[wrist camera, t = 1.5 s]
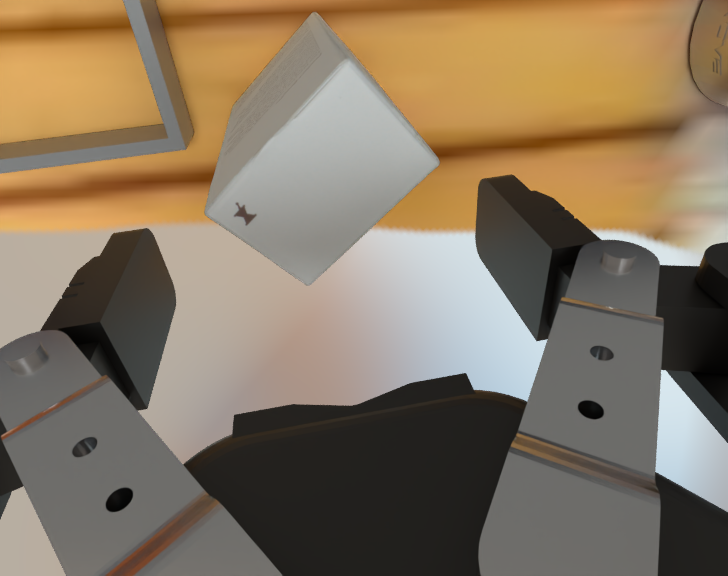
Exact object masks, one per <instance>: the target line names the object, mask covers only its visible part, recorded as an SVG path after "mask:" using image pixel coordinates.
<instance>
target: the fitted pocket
mask: <svg viewBox="0 0 728 576" xmlns="http://www.w3.org/2000/svg"><path fill="white" fill-rule="evenodd" d="M123 2H124V5H125V8H126V11H127V14H128V17H129V20H130V23H131V26H132V29H133V32H134V35H135V38H136V41H137V44H138V47H139V50H140V53H141V56H142V59H143V62H144V65H145V68H146V71H147V74H148V78H149V81H150V84H151V87H152V90H153V93H154V96H155V99H156V102H157V105H158V108H159V111H160V114H161V117H162V120H163V123H164V124H159V125H151V126H143V127H135V128H127V129H119V130H111V131H103V132H95V133H87V134H79V135H71V136H63V137H55V138H47V139H39V140H31V141H23V142H15V143H7V144H0V173H8V172H16V171H23V170H31V169H39V168H47V167H55V166H62V165H70V164H78V163H86V162H93V161H101V160H109V159H117V158H124V157H132V156H140V155H148V154H156V153H163V152H171V151H179V150H186V149H187V147H188V145H189V142H190V140H191V138H192V136H193V134H194V130H193V127H192V123H191V120H190V117H189V113H188V110H187V107H186V103H185V100H184V96H183V93H182V90H181V86H180V83H179V79H178V76H177V73H176V69H175V66H174V62H173V59H172V56H171V52H170V49H169V46H168V42H167V39H166V35H165V32H164V29H163V25H162V22H161V18H160V15H159V12H158V8H157V5H156V1H155V0H123Z"/></svg>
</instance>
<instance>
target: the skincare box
mask: <svg viewBox="0 0 728 576" xmlns="http://www.w3.org/2000/svg"><path fill="white" fill-rule="evenodd" d="M439 164H440V161H439V159H438V157H437V156H436V155H435V153H434V152H433V151H432V150H431V148H430V147H429V146H428V145H427V143H426V142H425V141H424V140H423V138H422V137H421V136H420V135H419V134H418V132H417V131H416V130H415V129H414V127H413V126H412V125H411V124H410V122H409V121H408V120H407V119H406V118H405V116H404V115H403V114H402V113H401V111H400V110H399V109H398V108H397V107H396V105H395V104H394V103H393V102H392V100H391V99H390V98H389V97H388V95H387V94H386V93H385V92H384V90H383V89H382V88H381V87H380V85H379V84H378V83H377V81H376V80H375V79H374V78H373V76H372V75H371V74H370V73H369V72H368V71H367V69H366V68H365V67H364V66H363V65H362V63H361V62H360V61H359V60H358V59H357V58H356V56H355V55H354V54H353V53H352V52H351V51H350V49H349V48H348V47H347V46H346V45H345V44H344V43H343V41H342V40H341V39H340V38H339V37H338V36H337V35H336V33H335V32H334V31H333V30H332V29H331V28H330V27H329V25H328V24H327V23H326V22H325V21H324V20H323V19H322V18H321V16H320V15H319V14H318V13H316V12H313V13H311V15H310V16H309V17H308V18H307V19H306V20H305V22H304V23H303V24H302V25H301V26H300V27H299V29H298V30H297V31H296V32H295V33H294V34H293V36H292V37H291V38H290V39H289V40H288V41H287V43H286V44H285V45H284V46H283V47H282V49H281V50H280V51H279V52H278V53H277V54H276V56H275V57H274V58H273V59H272V60H271V61H270V63H269V64H268V65H267V66H266V67H265V68H264V70H263V71H262V72H261V73H260V74H259V75H258V77H257V78H256V79H255V80H254V81H253V83H252V84H251V85H250V86H249V87H248V89H247V90H246V91H245V92H244V93H243V94H242V96H241V97H240V98H239V99H238V100H237V101H236V103H235V104H234V105H233V107H232V111H231V114H230V118H229V121H228V125H227V129H226V133H225V137H224V141H223V144H222V148H221V151H220V155H219V158H218V162H217V166H216V170H215V173H214V177H213V180H212V183H211V186H210V190H209V194H208V198H207V203H206V206H205V215H206V216H207V217H208V218H210V219H211V220H213V221H214V222H216V223H217V224H219V225H220V226H222V227H223V228H225V229H226V230H228V231H229V232H231V233H232V234H234V235H235V236H236V237H238V238H239V239H241V240H243V241H244V242H245V243H247V244H248V245H250V246H251V247H253V248H254V249H255V250H257V251H258V252H260V253H261V254H263V255H264V256H265V257H267V258H268V259H270V260H271V261H273V262H274V263H275V264H277V265H278V266H279V267H281V268H282V269H284V270H285V271H286V272H288V273H289V274H291V275H292V276H294V277H295V278H297V279H298V280H300V281H301V282H303V283H304V284H305V285H311V284H312V283H313V282H314V281H315V280H316V279H317V278H318V277H319V276H320V275H321V274H323V273H324V272H325V271H326V270H327V269H328V268H329V267H330V266H331V265H332V264H333V263H335V262H336V261H337V260H338V259H339V258H340V257H341V256H342V255H343V254H344V253H345V252H346V251H347V250H349V248H351V247H352V246H353V245H354V244H355V243H356V242H357V241H358V240H359V239H360V238H361V237H362V236H363V235H365V233H367V232H368V231H369V230H370V229H371V228H372V227H373V226H374V225H375V224H376V223H377V222H378V221H379V220H380V219H381V218H382V217H383V216H384V215H386V214H387V213H388V212H389V211H390V210H391V209H392V208H393V207H394V206H395V205H396V204H397V203H398V202H399V201H400V200H402V199H403V198H404V197H405V196H406V195H407V194H408V193H409V192H410V191H411V190H412V189H413V188H414V187H415V186H417V185H418V184H419V183H420V182H421V181H422V180H423V179H424V178H425V177H426V176H427V175H428V174H429V173H431V172H432V171H433V170H434V169H435V168H437V167H438V166H439Z"/></svg>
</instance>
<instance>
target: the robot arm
mask: <svg viewBox="0 0 728 576" xmlns="http://www.w3.org/2000/svg"><path fill="white" fill-rule="evenodd" d="M690 65H691V70H692V74H693V79H694V81H695V82H696V84H697V86H698V88H699V90H700V91H701V92H702V93H703V94H704V95H705V96H706V97H707V98H709V99H710V100H711V101H714V102H716V103H719V104H721V105H724V106H726V107H728V0H703V2H702V5H701V7H700V10H699V13H698V15H697V18H696V21H695V24H694V28H693V33H692V38H691V43H690ZM475 238H476V247H477V251H478V254H479V257H480V259H481V260H482V262H483V263H484V265H485V266H486V268H487V269H488V271H489V272H490V273H491V275H492V276H493V278H494V279H495V281H496V282H497V283H498V285H499V287H500V288H501V289H502V291H503V292H504V294H505V295H506V297H507V298H508V300H509V301H510V302H511V304H512V306H513V307H514V309H515V310H516V312H517V313H518V314H519V316H520V317H521V319H522V320H523V322H524V323H525V325H526V326H527V328H528V329H529V330H530V332H531V333H532V335H533V336H534V338H535V339H536V341H540V340H545V339H548V340H547V343H546V346H545V350H544V353H543V356H542V359H541V362H540V365H539V368H538V371H537V374H536V377H535V380H534V383H533V386H532V389H531V393H530V396H529V399H528V402H526V401H524V400H522V399H519V398H516V397H513V396H510V395H506V394H502V393H497V392H491V391H483V390H473V387H472V385H471V383H470V381H469V379H468V377H467V374H466V373H464V374H458V375H452V376H447V377H442V378H436V379H431V380H425V381H419V382H414V383H410V384H407V385H405V386H402V387H400V388H397V389H395V390H392V391H390V392H388V393H385V394H383V395H380V396H378V397H375V398H373V399H370V400H368V401H365V402H363V403H361V404H358V405H353V406H336V405H335V406H334V405H296V404H292V405H286V406H282V407H275V408H270V409H264V410H259V411H253V412H248V413H242V414H237V415H234V422H233V434H232V435H229V436H227V437H225V438H223V439H221V440H219V441H217V442H215V443H213V444H211V445H210V446H208V447H206V448H205V449H203V450H202V451H200V452H199V453H197V454H196V455H195V456H193V457H192V458H191V459H189V460H188V461H187V462H186V463H185V464H182V463H181V462H180V461H179V460H178V458H177V457H176V456H175V455H174V454H173V452H172V451H171V450H170V449H169V448H168V447H167V445H166V444H165V443H164V442H163V441H162V439H161V438H160V437H159V436H158V435H157V434H156V432H155V431H154V430H153V429H152V428H151V426H150V425H149V424H148V423H147V422H146V421H145V419H144V418H143V417H142V416H141V415H140V413H139V412H138V410H143V409H147V408H148V404H149V401H150V397H151V394H152V390H153V386H154V383H155V379H156V376H157V372H158V369H159V365H160V361H161V358H162V354H163V351H164V347H165V343H166V340H167V336H168V333H169V329H170V325H171V322H172V318H173V315H174V310H175V307H176V296H175V290H174V285H173V282H172V280H171V277H170V275H169V272H168V270H167V267H166V265H165V262H164V260H163V257H162V255H161V252H160V250H159V247H158V245H157V242H156V240H155V237H154V235H153V233H152V232H151V231H150V230H149V229H147V228H145V229H139V230H132V231H125V232H118V233H114V234H112V236H111V238H110V239H109V241H108V243H107V244H106V246H105V248H104V250H103V251H102V253H101V255H100V256H97V257H94V258H92V259H91V260H90V261H89V262H87V263H86V264H85V265H84V266H83V267H81V268H80V269H79V270H78V271H77V272H76V274H75V275H74V277H73V279H72V280H71V282H70V284H69V287H67V288H66V290H65V292H64V293H63V295H62V299H60V300H59V301H58V303H57V305H56V306H55V308H54V309H53V311H52V312H51V314H50V316H49V317H48V319H47V321H46V322H45V324H44V325H43V327H42V329H41V330H40V331H39V332H35V333H31V334H28V335H26V336H23V337H20V338H18V339H16V340H14V341H12V342H10V343H8V344H7V345H5V346H4V347H2V348H1V349H0V519H1V516H2V514H3V511H4V509H5V507H6V504H7V502H8V499H9V497H10V495H11V492H12V491H14V490H16V489H18V488H20V487H23V486H24V488H25V490H26V492H27V494H28V496H29V498H30V500H31V502H32V504H33V507H34V509H35V510H36V513H37V515H38V517H39V519H40V521H41V524H42V526H43V528H44V529H45V532H46V534H47V536H48V538H49V540H50V542H51V544H52V547H53V549H54V551H55V553H56V555H57V557H58V559H59V561H60V564H61V566H62V568H63V570H64V572H65V574H66V576H728V512H726V511H724V510H723V509H721V508H719V507H717V506H716V505H714V504H712V503H710V502H708V501H707V500H705V499H703V498H701V497H699V496H698V495H696V494H694V493H692V492H690V491H689V490H687V489H685V488H683V487H682V486H680V485H678V484H676V483H674V482H673V481H671V480H669V479H667V478H665V477H664V476H662V475H660V474H658V473H656V472H655V467H656V449H657V431H658V415H659V396H660V380H661V370H666V371H667V372H668V373H669V375H670V376H671V377H672V378H673V379H674V381H675V382H676V383H677V384H678V385H679V386H680V388H681V389H682V390H683V391H684V392H685V393H686V395H687V396H688V397H689V398H690V399H691V400H692V402H693V403H694V404H695V405H696V406H697V408H698V409H699V410H700V411H701V412H702V413H703V415H704V416H705V417H706V418H707V419H708V420H709V421H710V423H711V424H712V425H713V426H714V427H715V429H716V430H717V431H718V432H719V433H720V435H721V436H722V437H723V438H724V439H725V440H726V442H727V443H728V242H727V243H719V244H715V245H712V246H710V247H709V248H708V249H707V250H706V251H705V253H704V256H703V259H702V261H701V264H700V266H668V265H660V264H659V261H658V258H657V257H656V256H655V255H654V254H653V253H652V252H650V251H649V250H647V249H646V248H643V247H642V246H639V245H636V244H633V243H630V242H625V241H619V240H601V239H600V238H599V237H597V236H596V235H595V234H594V233H593V232H592V231H591V230H589V229H588V228H587V227H586V226H585V225H584V224H582V223H581V222H580V221H579V220H578V219H577V218H576V219H574V216H573V215H572V214H571V213H570V212H569V211H567V210H565V208H564V207H563V206H562V205H561V204H559V203H558V202H557V201H556V200H555V199H554V198H552V197H549V196H547V195H545V194H542V193H540V192H537V191H531V190H529V189H528V188H527V187H526V186H525V185H524V184H523V183H522V182H521V181H520V180H518V179H517V178H516V177H515V176H514V175H505V176H499V177H492V178H485V179H482V180H481V181H480V183H479V187H478V200H477V217H476V235H475Z"/></svg>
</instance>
